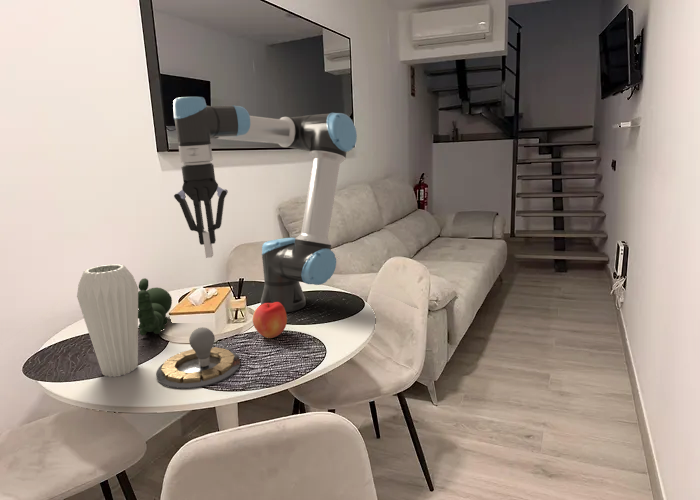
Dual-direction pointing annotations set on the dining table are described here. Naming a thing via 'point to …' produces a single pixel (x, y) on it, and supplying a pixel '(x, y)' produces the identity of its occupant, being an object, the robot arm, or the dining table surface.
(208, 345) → the light bulb
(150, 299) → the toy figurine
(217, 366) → the socket
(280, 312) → the apple
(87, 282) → the vase
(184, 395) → the dining table surface
